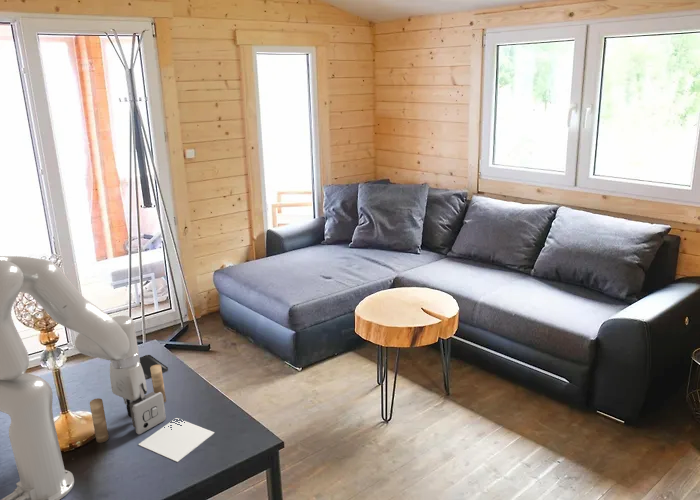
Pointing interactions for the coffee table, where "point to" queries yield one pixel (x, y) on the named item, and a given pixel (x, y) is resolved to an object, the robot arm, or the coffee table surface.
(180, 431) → the mat
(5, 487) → the coffee table surface
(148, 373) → the phone
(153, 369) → the far oak dowel
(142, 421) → the electrical switch
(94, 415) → the near oak dowel
